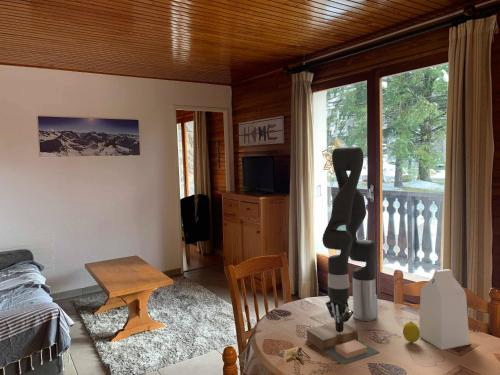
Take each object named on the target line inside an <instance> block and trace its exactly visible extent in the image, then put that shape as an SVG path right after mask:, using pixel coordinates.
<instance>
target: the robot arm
mask: <svg viewBox="0 0 500 375" xmlns="http://www.w3.org/2000/svg"><path fill="white" fill-rule="evenodd" d="M364 156H365V155H364V151H363V149H362V148H361V147H360V146H340V147H335V148H334V149H333V150H332V152H331V162H332V168H333V172H334V175H335V178H336V182H337V186H338V192H337V193H336V195H335V197H334V198H333V201H332V207H331V213H330V214H331V215H330V218H329V220H328V223H327V225H326V227H325V229H324V232H323V234H322V244H323V246H324V248H326V249H328V250H335V251H340V252H339V254H334V255H331V256H329V257H328V260H327V271H328V272H327V297H328V298H329V301H326V302H325V305H326V308H327V310H328V312H329V315H330V317H331V318H332V319H333V320H334V322H335V328H336V331H337V332H339V333H340V332H343V330H344V324H343V323H346V322H348V321H349V320H350V319H351V317H352V316H353V318H354V319H356V320H358V321H360V322H361V321H362V322H371V321H374V320H376V318H378V316H379V315H378V312H379V311H378V295H377V294H376V268H377V267H376V263H377V262H376V260H377V245H376V243H375V242H374V240H369V239H367V240H366V239H359V238H358V236H357V232H358V230H359V228H360V227H361V225H362V223H363V222H364V220H365V219H366V216H367V207H366V199H365V197H364V196H363V194H362V193H361V191H360V190H359V189H358V188H357V187H358V185H359V181H360V178H361V174H362V170H363V166H364V161H365V160H364V158H365V157H364ZM348 172H349V173H348ZM342 226H345V230H341V229H340V230H339V227H342ZM349 258H350V260H351V261H354V262H360V263H365V266H362V267H358V268H355V269H353V270H352V302H353V303H352V308H353V310H351V309H350V308H349V302H348V301H349V299H350V277H349Z"/></svg>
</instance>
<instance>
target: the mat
mask: <svg viewBox="0 0 500 375" xmlns="http://www.w3.org/2000/svg"><path fill="white" fill-rule="evenodd" d="M358 342H360V343H362V344H363V345H365V346H367V353H364V354H361V355H358V356H354V357H351V358H348V359H346V358H345V357H343V356H342V355H340V354H339V353H337V352H336V351H335V348H332V349H329V350H326V351H323V352H324V353H325V354H327V355H328V356H330V357H331V358H332V359H334V360H336V362H338V363H339V364H341V365H347V364H349V363H352V362H356V361H359V360H361V359H364V358H367V357H370V356H373V355H377V354H379V353H380V351H378V350H377V349H375V348H373V347H372V346H370V345H368V344H366V343H364V341H361V340H359V339H358Z"/></svg>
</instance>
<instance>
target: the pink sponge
mask: <svg viewBox="0 0 500 375" xmlns="http://www.w3.org/2000/svg"><path fill="white" fill-rule="evenodd" d="M335 351H336V352H337V353H339V354H340V355H342V356H343V357H345V358H346V359H348V358H351V357H354V356H358V355H361V354H364V353H367V346H365V345H363V344H362V343H360V342H358V341H356V340H353V341H350V342H346V343H343V344H340V345H336V346H335Z"/></svg>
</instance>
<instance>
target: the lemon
mask: <svg viewBox="0 0 500 375" xmlns="http://www.w3.org/2000/svg"><path fill="white" fill-rule="evenodd" d="M402 328H403V329H402V335H403V337H404V339H405V340H406V341H407V342H408V343H410V344H413V343H415V342H418V340H419V339H420V336H419V335H420V333H419V325H417V324H416V323H415V322H413V321H409V322H406V323H405V324H404V325H403V327H402Z"/></svg>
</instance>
